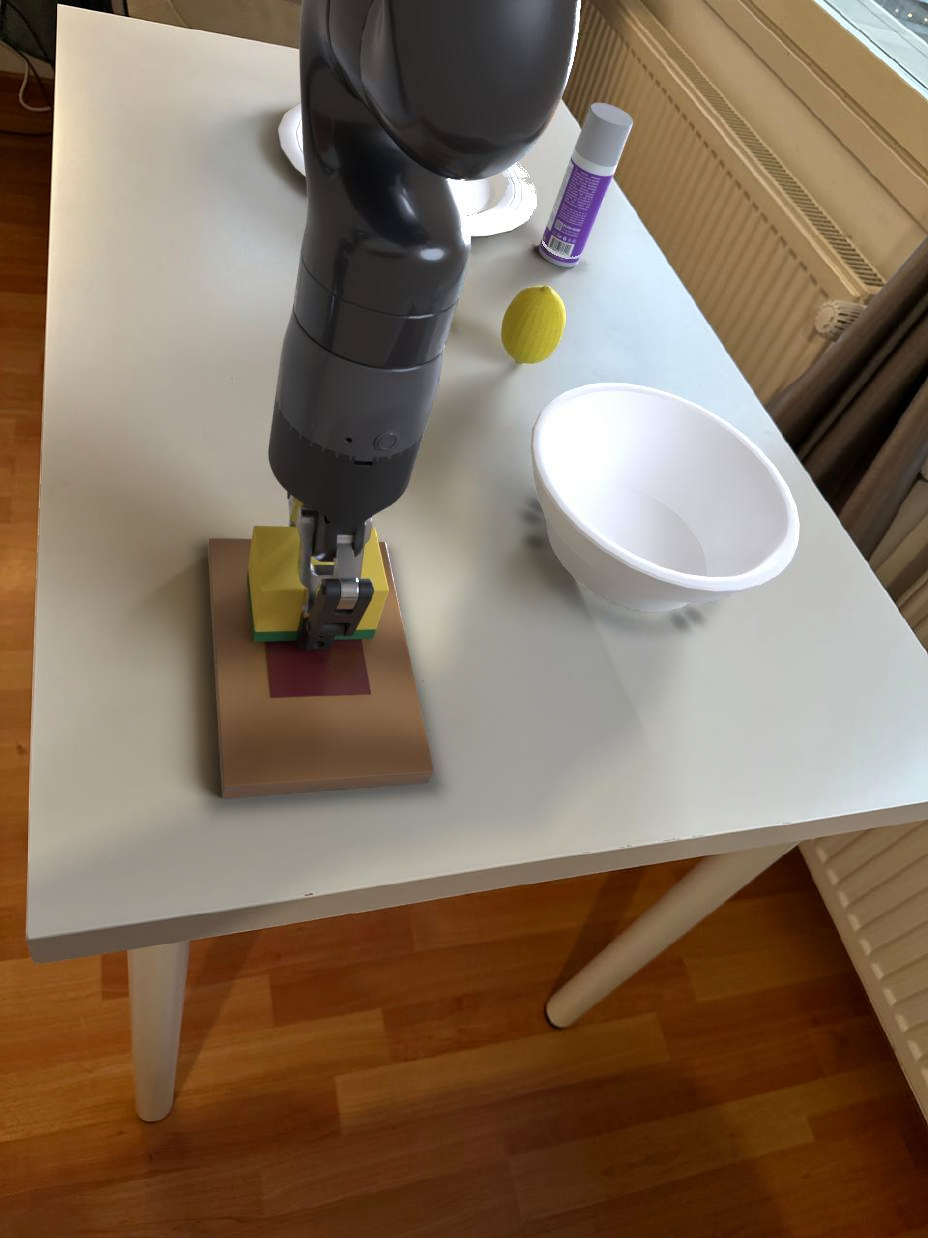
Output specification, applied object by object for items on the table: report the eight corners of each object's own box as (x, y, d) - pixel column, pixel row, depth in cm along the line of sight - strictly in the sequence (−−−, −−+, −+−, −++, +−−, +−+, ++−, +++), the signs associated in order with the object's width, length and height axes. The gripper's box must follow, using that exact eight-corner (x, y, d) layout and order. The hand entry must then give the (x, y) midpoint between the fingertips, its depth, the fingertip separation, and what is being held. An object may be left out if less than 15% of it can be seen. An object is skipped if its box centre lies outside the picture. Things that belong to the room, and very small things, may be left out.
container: (586, 265, 97) (643, 125, 85) (555, 269, 94) (609, 126, 83) (561, 240, 99) (614, 101, 87) (530, 244, 96) (580, 101, 85)
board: (428, 783, 53) (435, 771, 51) (222, 799, 49) (223, 786, 47) (382, 555, 63) (386, 540, 61) (207, 552, 59) (208, 536, 57)
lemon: (490, 338, 83) (517, 261, 77) (546, 352, 84) (576, 278, 78) (490, 373, 80) (517, 296, 74) (548, 387, 81) (579, 312, 75)
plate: (544, 167, 109) (549, 152, 108) (515, 284, 90) (521, 267, 89) (318, 83, 106) (320, 67, 105) (238, 186, 87) (240, 167, 86)
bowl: (764, 532, 76) (818, 463, 70) (715, 706, 62) (777, 639, 56) (549, 423, 77) (583, 345, 71) (455, 569, 64) (487, 489, 58)
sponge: (253, 642, 53) (260, 591, 49) (246, 578, 56) (253, 525, 52) (373, 639, 56) (389, 590, 52) (361, 578, 59) (375, 527, 55)
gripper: (263, 302, 46) (239, 524, 59) (293, 502, 38) (258, 708, 51) (401, 317, 48) (349, 526, 61) (457, 507, 40) (384, 702, 53)
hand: (308, 608), depth 56 cm, fingers closed on sponge, 5 cm apart
